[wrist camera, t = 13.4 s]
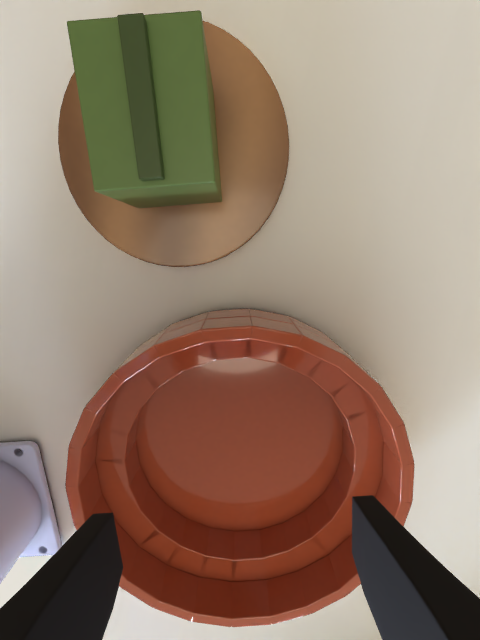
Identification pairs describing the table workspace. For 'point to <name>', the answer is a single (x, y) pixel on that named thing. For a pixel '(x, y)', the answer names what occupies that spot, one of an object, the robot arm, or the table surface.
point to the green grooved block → (148, 108)
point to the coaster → (234, 163)
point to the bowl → (238, 467)
